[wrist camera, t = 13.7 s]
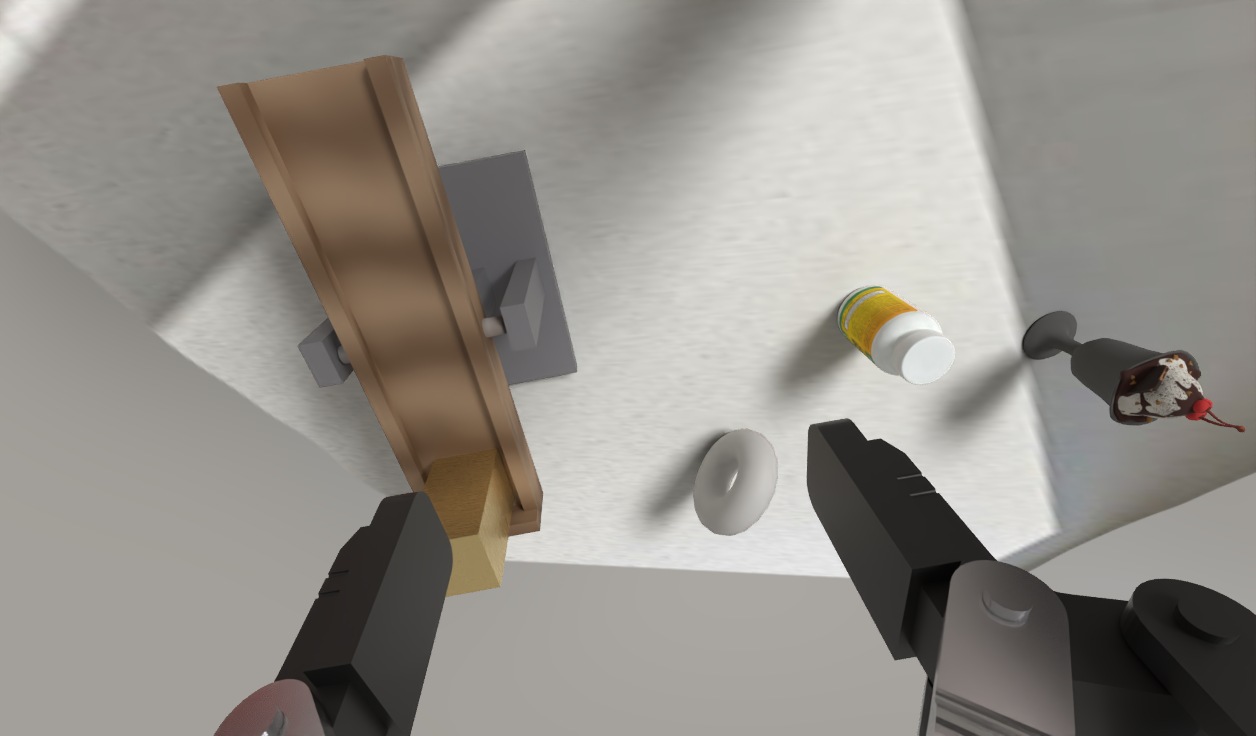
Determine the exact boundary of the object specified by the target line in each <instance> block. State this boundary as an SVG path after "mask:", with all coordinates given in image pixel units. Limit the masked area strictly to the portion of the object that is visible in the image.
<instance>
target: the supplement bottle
mask: <svg viewBox="0 0 1256 736" xmlns="http://www.w3.org/2000/svg"><path fill="white" fill-rule="evenodd" d="M838 326H839V328H840V331H841V332H842V334H843V335H844V336H845V337H846V338H847V339H848V340H849V341H851V342H852V343H853V344H854V345H855V346H856V347H857V348H858V349H859V350H860V351H861V352H862V353H863V354H864V355H866V356H867V357H868V358H869V359H870V360H871V361H872V362H873V363H874V364H875V365H876V366H877V367H878V368H880V369H881V370H882V371H884V372H886V373H888V374H891V375H898V376H901V377H903V378H904V379H905V380H906V381H908V382H910V383H912V384H916V385H923V384H928V383H931V382H933V381H936V380H937V379H939V378H941V377H942V376H943V375H944V374H945V373H946V372H947V371H948V370H949V368H950V367H951V365H952V363H953V361H954V357H955V349H954V346H953V344H952V343H951V341H950V340H948V339H947V338H946V337H944V336H943V335H942V330H941V327H940V325H939V323H938V322H937V321H936V320H935V319H934V318H933V317H932V316H930V315H929V314H927V313H926V312H924V311H923V310H921V309H920V308H918V307H917V306H915V305H913V304H912V303H910V302H909V301H907V300H906V299H904V298H903V297H901V296H900V295H898V294H897V293H895V292H894V291H892V290H890V289H889V288H887V287H884V286H881V285H870V286H865V287H862V288H860V289H858V290H856V291H854V292H853V293H851V294H850V295H849V296H848V297H847V298H846V299H845V300H844V302H843V303H842V305H841V307H840V309H839V312H838Z"/></svg>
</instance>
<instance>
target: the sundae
mask: <svg viewBox="0 0 1256 736" xmlns="http://www.w3.org/2000/svg"><path fill="white" fill-rule="evenodd" d="M1076 328H1077V323H1076V320H1075V318H1074V316H1073V315H1072V314H1070V313H1068V312H1063V311H1057V312H1053V313H1050V314H1048V315H1045V316H1044V317H1042V318H1040V319H1039V320H1038V321H1036V322H1035V323H1034V324H1033V325H1032V326H1031V328H1030V329H1029V330H1028V332H1027V334H1026V336H1025V338H1024V351H1025V353H1026V354H1027V355H1028V356H1029V357H1031V358H1033V359H1045V358H1049V357H1052V356H1054V355H1056V354H1058V353H1060V352H1061V351H1064V352H1066V353H1068V354H1070V355H1072V357H1071V371H1072V374H1073V375H1074V376H1075V377H1076V378H1077V379H1078V380H1079V381H1080V382H1082V383H1083V384H1084V385H1085V386H1086V387H1088V388H1089V389H1090V390H1092V391H1093V392H1094V393H1095V394H1097V395H1098V396H1099V397H1101V398H1102V399H1103V400H1104V401H1105V402H1106V403H1107V404H1108V405H1109V406H1110V417H1111V418H1112V419H1113V420H1114V421H1116V422H1118V423H1121V424H1125V425H1143V424H1148V423H1150V422H1153V421H1155V420H1157V419H1158V418H1160V419H1170V418H1177V417H1181V416H1186V418H1188V419H1189V420H1196V421H1197V420H1200V419H1202V420H1204V421H1206V422H1209V423H1212V424H1215V425H1219V426H1224V427H1234V428H1236V429H1237V430H1238V431H1239V432H1245V428H1244V427H1243V426H1235V425H1230V424H1227V423H1225V422H1223V421H1221V420H1220V419H1218V418H1217V417H1216V416H1215V415H1214V414H1213V413H1212V412H1211V411H1210V409H1211V408H1212V402H1211V401H1210V400H1208V399H1205V398H1203V392H1202V388H1201V386H1200V384H1199V383H1198V382H1197V380H1198V378H1199V377H1200V376H1201V372H1200V370H1199V367H1198V363H1197V362H1196V360H1195V358H1194V357H1193V356H1192V355H1191V354H1189V353H1188V352H1186V351H1182V350H1178V351H1171V352H1167V353H1159V352H1155V351H1151V350H1147V349H1144V348H1141V347H1138V346H1135V345H1132V344H1128V343H1125V342H1122V341H1117V340H1113V339H1109V338H1100V339H1097V340H1093V341H1089V342H1086V343H1084V344H1081V343H1079V342H1077V341H1075V340H1073V338H1074V336H1075V333H1076ZM1207 412H1208V413H1209V414H1210V415H1211V416H1212V417H1213V418H1215V419H1216V420H1217V421H1219V422H1221V423H1223V424H1225V425H1223V424H1219V423H1216V422H1213V421H1211V420H1208V419H1206V418H1204V417H1205V416H1206V414H1207Z"/></svg>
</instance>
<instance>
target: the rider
mask: <svg viewBox="0 0 1256 736" xmlns="http://www.w3.org/2000/svg"><path fill="white" fill-rule="evenodd" d="M422 491H423V492H425V493H426V494H427V495H428V496H429V498H430V500H431V502H432V504H433V506H434V509H435V511H436V513H437V515H438V517H439V519H440V521H441V523H442V525H443V527H444V530H445V532H446V534H447V536H448V538H449V540H450V543H451V547H452V553H453V566H452V572H451V577H450V580H449V584H448V588H447V592H446V596H445V597H448V596H453V595H459V594H464V593H469V592H475V591H480V590H486V589H491V588H496V587H500V586H501V580H502V574H503V568H504V561H505V555H506V549H507V542H508V536H509V529H510V523H511V516H512V510H513V504H514V497H515V495H514V492H513V490H512V487H511V484H510V481H509V478H508V476H507V473H506V470H505V467H504V465H503V462H502V459H501V456H500V453H499V451H498V448H495V449H489V450H484V451H479V452H473V453H468V454H462V455H457V456H452V457H446V458H441V459H435V460H434V462H433V465H432V467H431V470H430V472H429V475H428V477H427V480H426V483H425V485H424V488H423V490H422Z"/></svg>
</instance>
